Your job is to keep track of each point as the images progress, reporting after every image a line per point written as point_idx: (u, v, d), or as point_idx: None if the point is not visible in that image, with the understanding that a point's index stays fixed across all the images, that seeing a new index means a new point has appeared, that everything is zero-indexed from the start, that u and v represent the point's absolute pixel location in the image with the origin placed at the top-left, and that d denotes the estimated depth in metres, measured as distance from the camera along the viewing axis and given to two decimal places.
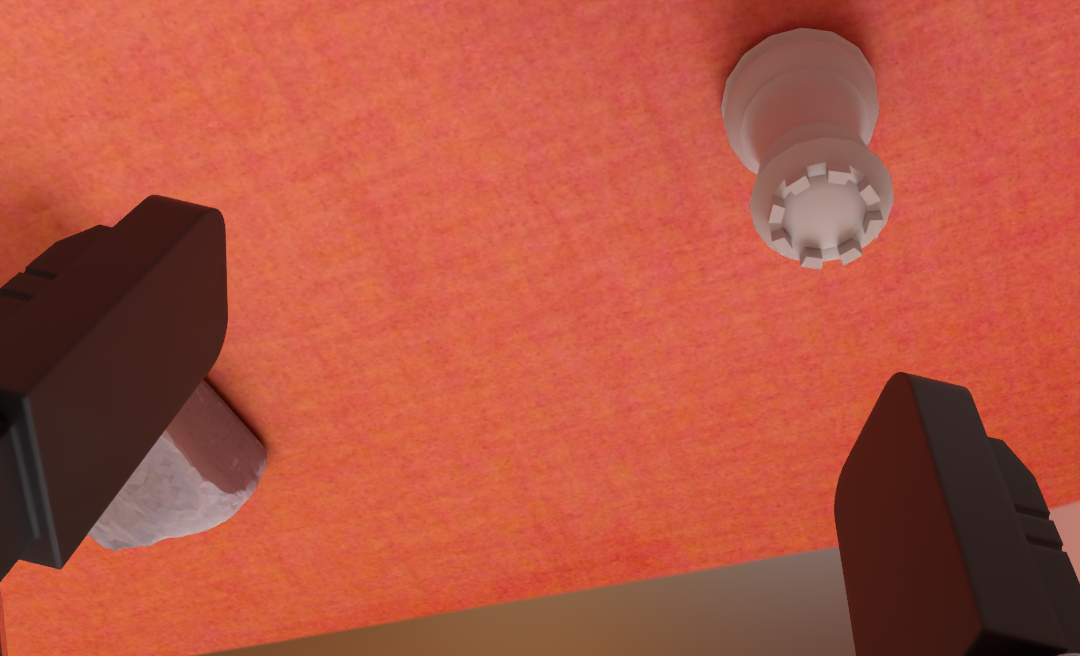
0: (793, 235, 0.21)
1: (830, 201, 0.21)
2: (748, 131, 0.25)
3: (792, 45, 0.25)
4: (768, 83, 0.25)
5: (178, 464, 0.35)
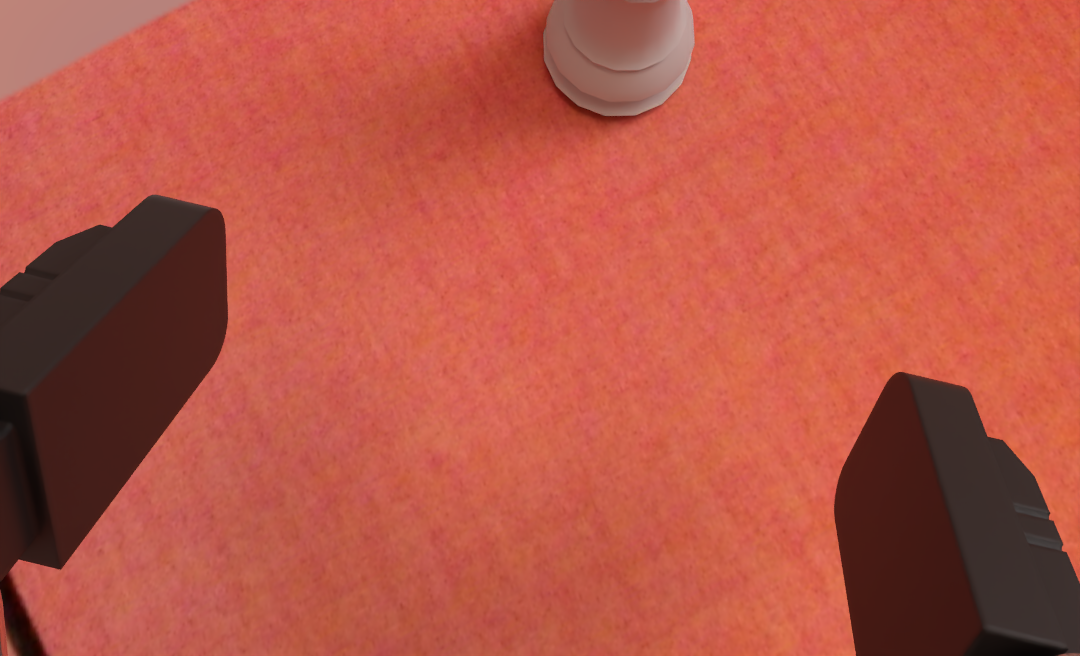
0: None
1: None
2: (635, 60, 0.25)
3: (553, 53, 0.26)
4: (586, 56, 0.25)
5: None
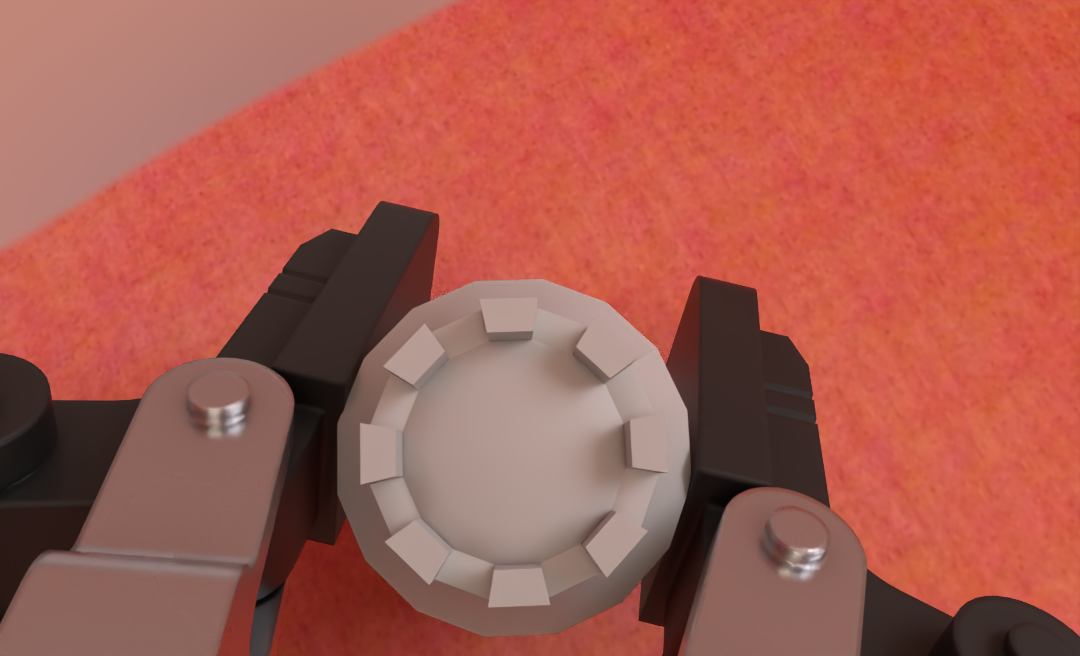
0: (593, 510, 0.08)
1: (471, 444, 0.08)
2: None
3: None
4: None
5: None
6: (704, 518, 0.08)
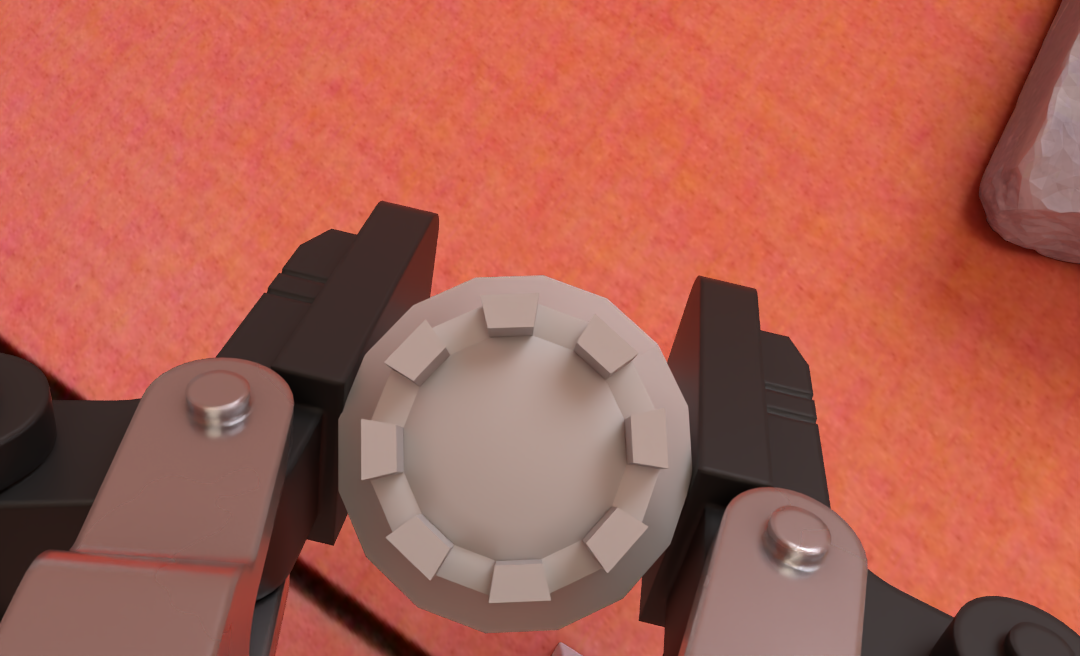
0: (593, 506, 0.08)
1: (471, 440, 0.08)
2: None
3: None
4: None
5: None
6: (704, 518, 0.08)
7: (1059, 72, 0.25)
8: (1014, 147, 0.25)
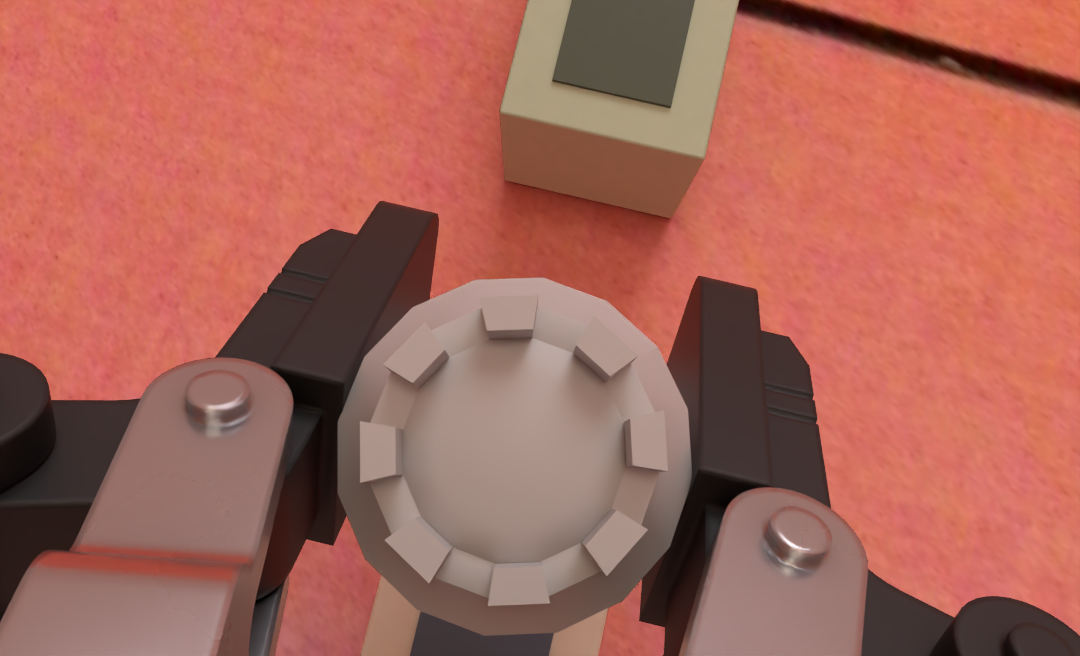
0: (593, 508, 0.08)
1: (471, 442, 0.08)
2: None
3: None
4: None
5: None
6: (704, 518, 0.08)
7: None
8: None
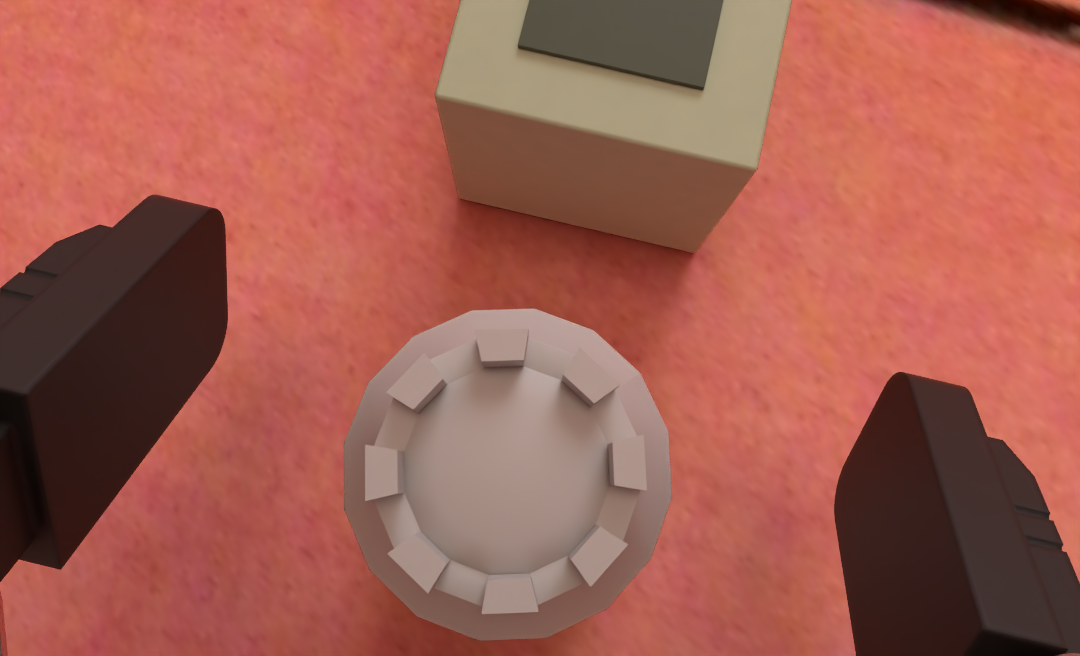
0: (578, 524, 0.08)
1: (466, 464, 0.08)
2: None
3: None
4: None
5: None
6: None
7: None
8: None
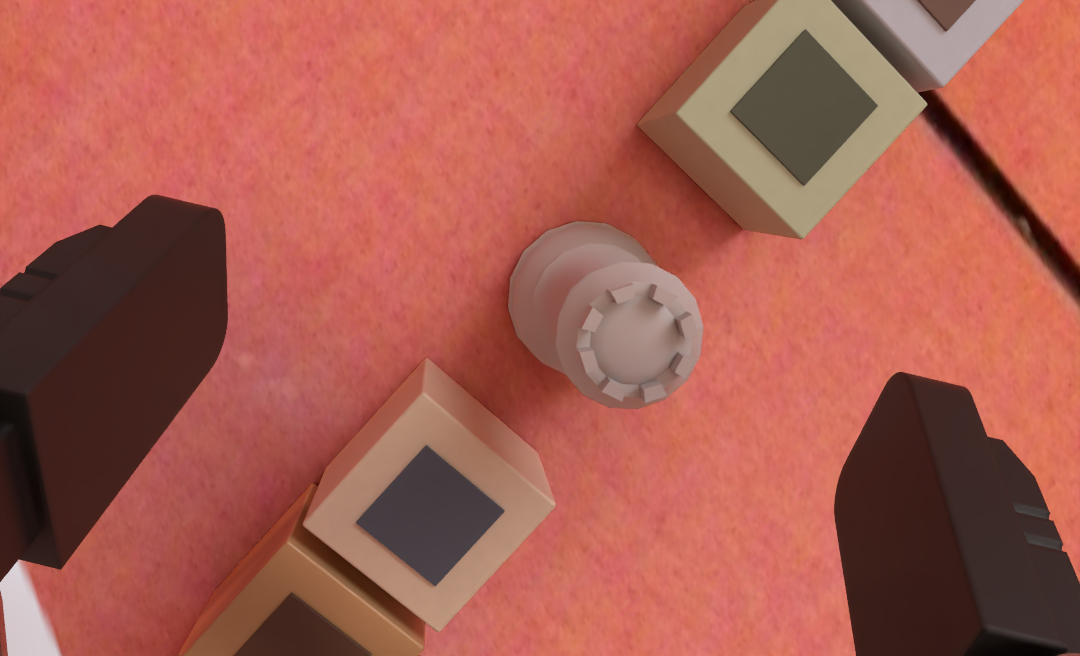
0: (650, 376, 0.19)
1: (622, 331, 0.19)
2: None
3: (515, 294, 0.25)
4: (537, 329, 0.24)
5: None
6: None
7: None
8: None
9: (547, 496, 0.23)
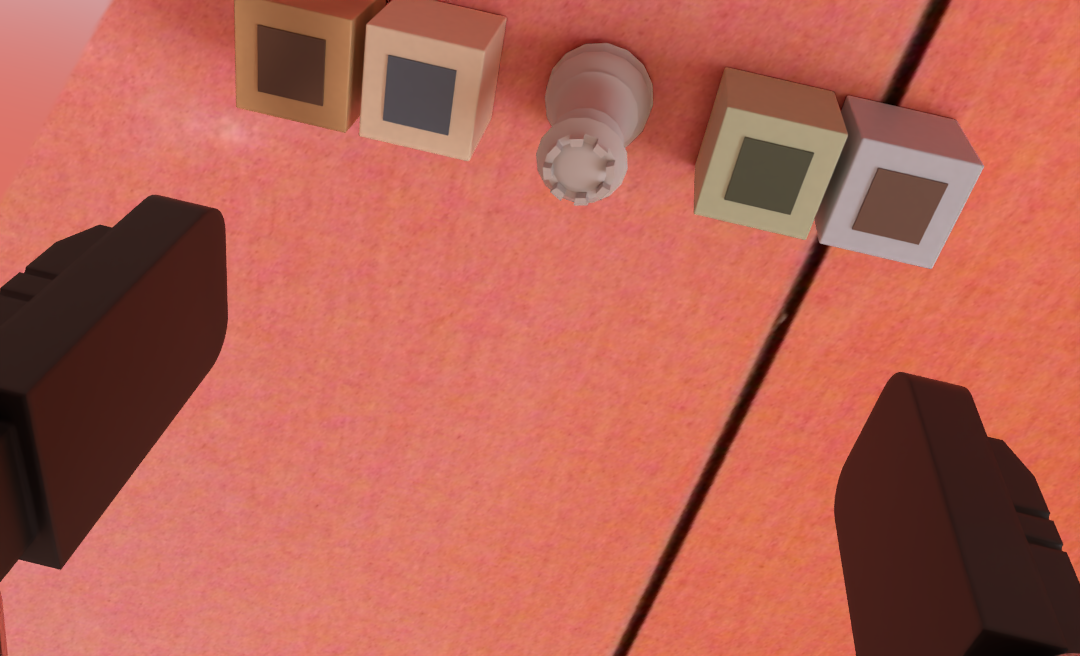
0: (565, 185, 0.32)
1: (580, 159, 0.31)
2: None
3: (576, 57, 0.36)
4: (562, 86, 0.36)
5: None
6: None
7: None
8: None
9: (470, 153, 0.36)
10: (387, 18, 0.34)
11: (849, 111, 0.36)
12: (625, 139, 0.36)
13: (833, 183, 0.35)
